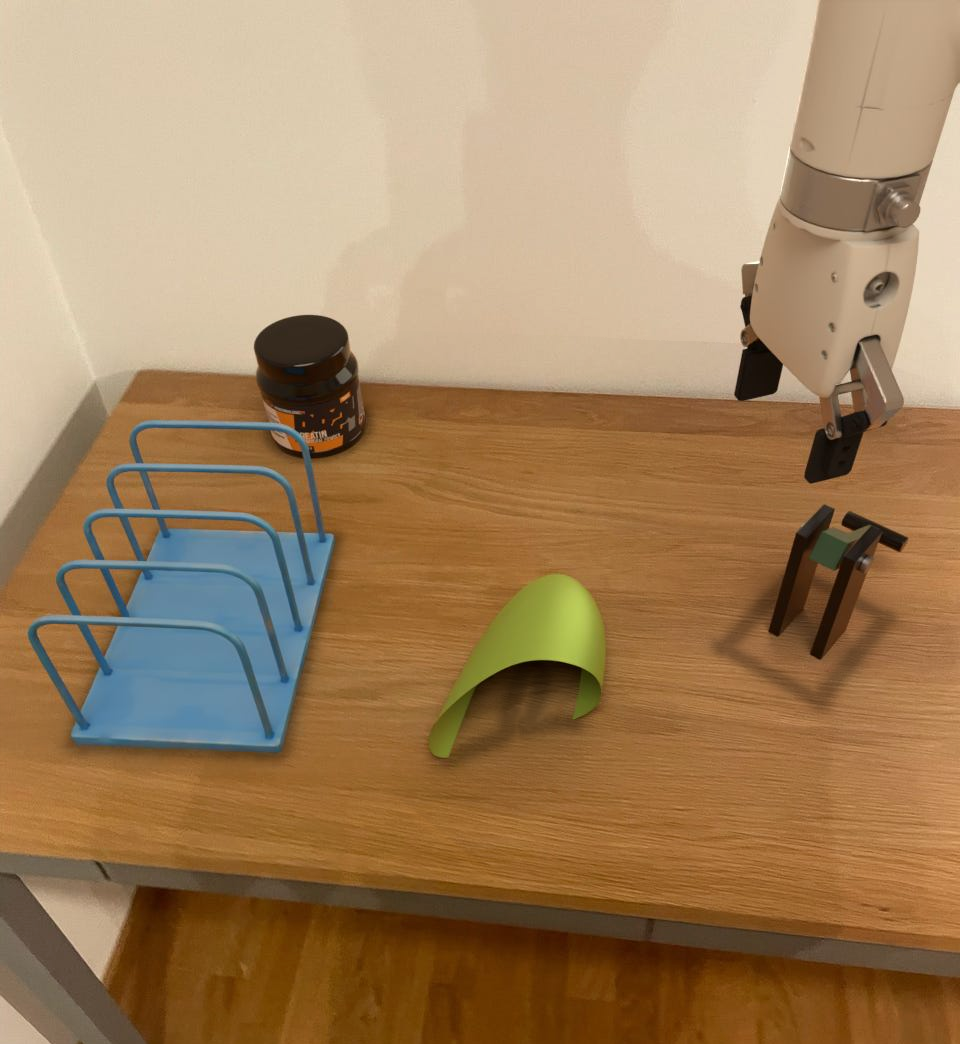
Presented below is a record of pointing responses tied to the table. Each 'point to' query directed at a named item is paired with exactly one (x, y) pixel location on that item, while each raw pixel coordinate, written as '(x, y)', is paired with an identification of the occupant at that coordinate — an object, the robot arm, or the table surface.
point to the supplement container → (310, 384)
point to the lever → (850, 540)
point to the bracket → (843, 589)
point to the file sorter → (199, 621)
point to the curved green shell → (532, 648)
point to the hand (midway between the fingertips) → (789, 434)
